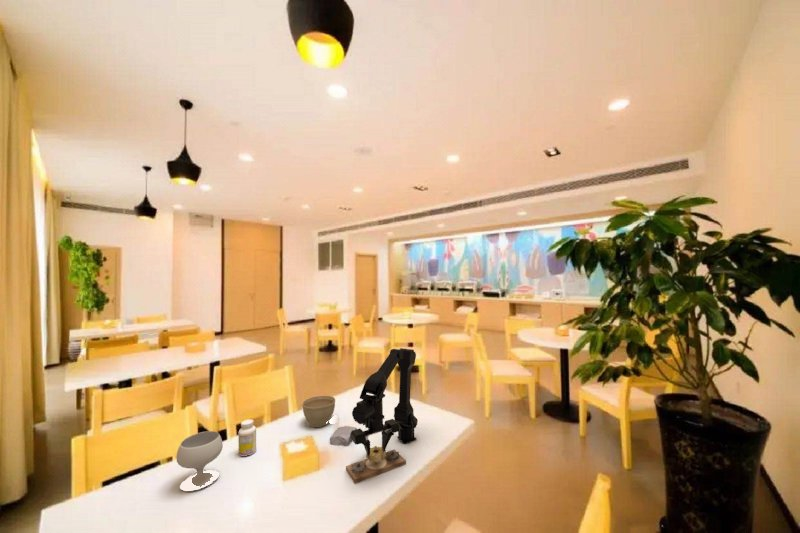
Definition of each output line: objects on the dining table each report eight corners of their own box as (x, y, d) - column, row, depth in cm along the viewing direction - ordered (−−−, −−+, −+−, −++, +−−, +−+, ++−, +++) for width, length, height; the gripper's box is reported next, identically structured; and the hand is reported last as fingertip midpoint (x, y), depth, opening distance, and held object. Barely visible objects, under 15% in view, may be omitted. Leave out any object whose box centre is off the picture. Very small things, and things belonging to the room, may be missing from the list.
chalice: (172, 500, 100) (172, 454, 100) (180, 476, 112) (180, 435, 113) (221, 486, 106) (221, 442, 107) (223, 465, 119) (223, 426, 119)
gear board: (394, 453, 124) (394, 439, 125) (405, 464, 117) (405, 449, 117) (345, 470, 114) (345, 455, 114) (354, 483, 106) (354, 467, 106)
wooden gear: (380, 449, 120) (380, 444, 120) (388, 458, 114) (388, 452, 114) (363, 454, 117) (363, 449, 117) (371, 464, 110) (371, 458, 110)
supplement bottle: (246, 447, 131) (246, 417, 131) (259, 449, 129) (259, 418, 130) (234, 456, 124) (234, 424, 125) (248, 458, 123) (248, 426, 123)
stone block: (328, 449, 131) (350, 446, 130) (326, 438, 132) (347, 435, 130) (339, 436, 143) (359, 433, 141) (337, 426, 144) (357, 423, 142)
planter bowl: (342, 420, 155) (342, 398, 155) (318, 434, 141) (317, 410, 141) (320, 413, 163) (320, 393, 164) (295, 426, 150) (295, 403, 150)
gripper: (386, 399, 128) (387, 437, 127) (344, 410, 118) (345, 451, 118) (400, 409, 118) (401, 450, 117) (355, 421, 109) (356, 466, 108)
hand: (376, 453), depth 115 cm, fingers closed on wooden gear, 6 cm apart
